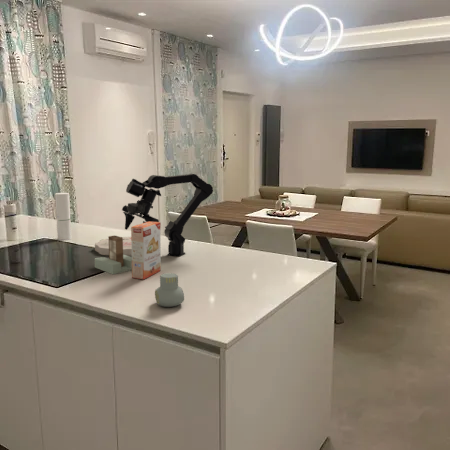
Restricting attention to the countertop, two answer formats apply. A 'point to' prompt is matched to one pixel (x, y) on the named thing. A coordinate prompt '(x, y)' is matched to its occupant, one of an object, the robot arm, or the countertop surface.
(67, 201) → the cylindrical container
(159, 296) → the air freshener
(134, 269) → the cracker box
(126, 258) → the frame stand
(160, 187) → the robot arm
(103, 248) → the decorative plaque
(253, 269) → the countertop surface
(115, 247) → the photo frame
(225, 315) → the countertop surface
